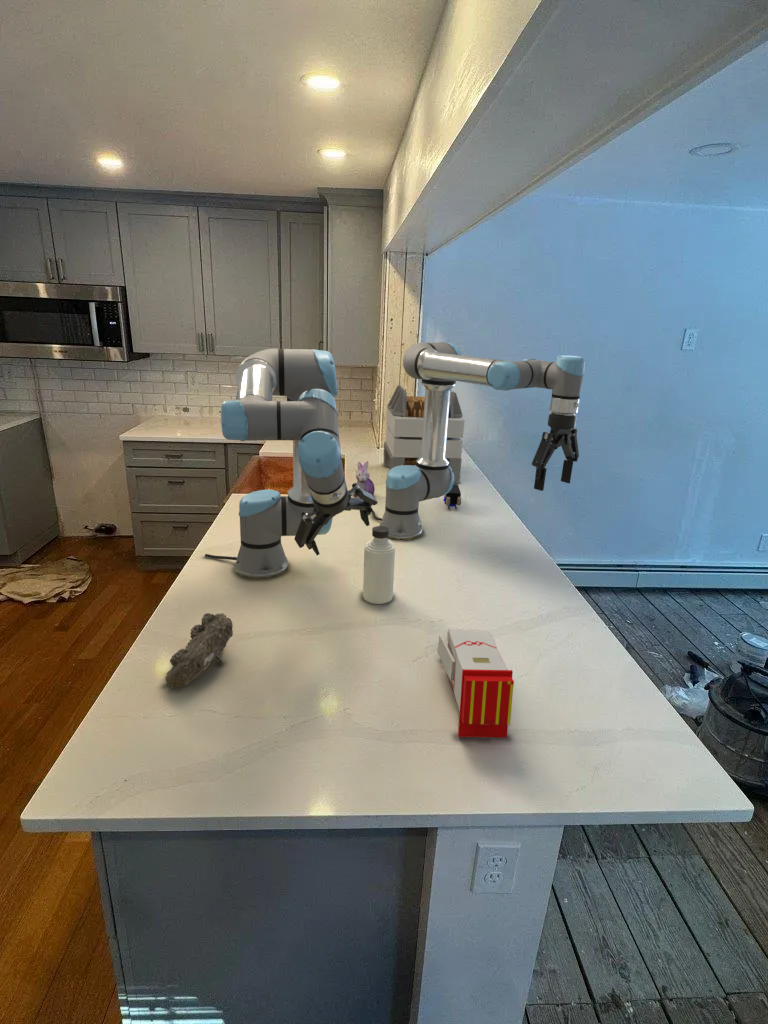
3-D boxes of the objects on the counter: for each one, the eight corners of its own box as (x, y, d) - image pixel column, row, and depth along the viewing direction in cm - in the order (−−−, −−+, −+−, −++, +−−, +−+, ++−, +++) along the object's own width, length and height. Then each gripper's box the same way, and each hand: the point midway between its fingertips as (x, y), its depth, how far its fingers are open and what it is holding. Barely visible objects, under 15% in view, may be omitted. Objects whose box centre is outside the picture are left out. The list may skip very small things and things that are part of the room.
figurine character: (461, 514, 225) (456, 498, 239) (463, 497, 222) (458, 482, 235) (444, 513, 225) (440, 498, 239) (446, 496, 222) (442, 481, 235)
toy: (488, 613, 130) (523, 677, 101) (484, 667, 133) (517, 744, 104) (435, 612, 130) (455, 676, 101) (432, 666, 133) (451, 743, 103)
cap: (375, 531, 152) (375, 525, 152) (391, 533, 151) (391, 527, 150) (369, 536, 149) (369, 530, 148) (385, 539, 147) (385, 533, 147)
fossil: (188, 616, 134) (233, 586, 129) (216, 643, 137) (261, 615, 132) (144, 681, 114) (195, 649, 109) (178, 711, 117) (230, 682, 112)
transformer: (382, 463, 289) (386, 382, 275) (445, 464, 293) (451, 384, 279) (390, 482, 257) (394, 392, 243) (460, 483, 261) (468, 394, 247)
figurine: (359, 501, 230) (360, 466, 225) (349, 494, 239) (349, 459, 234) (379, 499, 235) (381, 464, 230) (369, 491, 243) (370, 458, 238)
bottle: (369, 587, 161) (371, 522, 154) (396, 593, 158) (400, 527, 152) (358, 600, 154) (360, 533, 147) (386, 606, 151) (390, 538, 144)
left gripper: (282, 534, 110) (301, 575, 129) (390, 473, 116) (393, 521, 134) (265, 506, 114) (286, 550, 132) (371, 448, 119) (376, 498, 138)
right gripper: (548, 419, 148) (537, 496, 155) (598, 411, 163) (586, 482, 171) (525, 414, 153) (515, 489, 160) (575, 407, 169) (564, 476, 176)
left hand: (340, 535), depth 133 cm, fingers open, 13 cm apart
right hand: (552, 485), depth 166 cm, fingers open, 13 cm apart
